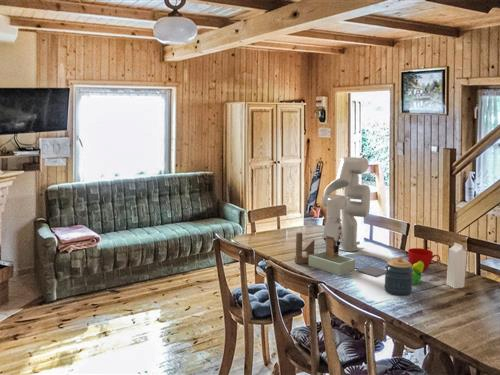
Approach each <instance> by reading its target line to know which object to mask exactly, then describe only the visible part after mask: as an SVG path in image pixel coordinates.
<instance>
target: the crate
mask: <svg viewBox="0 0 500 375" xmlns="http://www.w3.org/2000/svg"><path fill="white" fill-rule="evenodd" d="M307 264H308V266H309V267H313V268H315V269H316V268H317V269H318V270H322V271H324V272H325V271H326V272H328V273H331V274H334V275H338V276H340V275H341V276H342V275H344V274H347V273H349V272H352V271H356V259H355V258H352V257H349V256H345V255H342V254H341V255H340V254H338V257H336V258H333V259H332V258H329V257H326V250H322V251H319V252H314V254H311V255H309V262H308V263H307Z"/></svg>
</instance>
